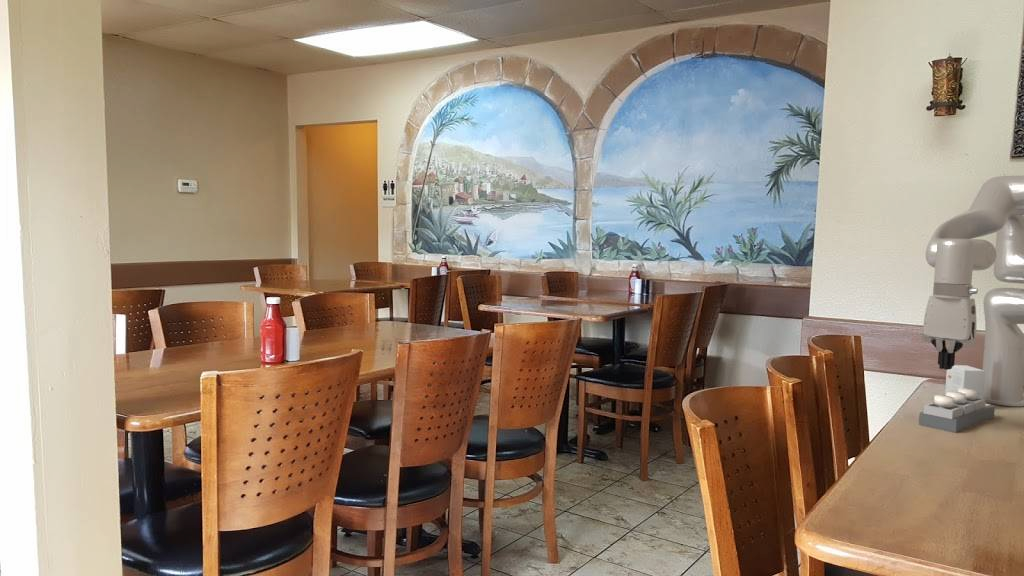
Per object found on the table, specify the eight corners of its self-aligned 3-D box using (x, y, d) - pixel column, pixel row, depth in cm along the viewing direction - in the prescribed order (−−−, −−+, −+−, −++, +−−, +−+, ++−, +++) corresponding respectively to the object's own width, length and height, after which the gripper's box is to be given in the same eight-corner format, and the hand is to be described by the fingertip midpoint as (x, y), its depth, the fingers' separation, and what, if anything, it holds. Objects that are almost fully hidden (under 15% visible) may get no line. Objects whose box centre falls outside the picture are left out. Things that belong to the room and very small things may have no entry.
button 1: (938, 402, 171) (938, 394, 171) (956, 405, 168) (956, 397, 168) (931, 404, 169) (931, 396, 169) (949, 408, 166) (950, 399, 165)
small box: (983, 410, 186) (986, 370, 185) (961, 409, 186) (964, 370, 185) (964, 402, 194) (967, 364, 193) (943, 402, 194) (946, 364, 193)
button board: (958, 410, 185) (960, 391, 184) (994, 417, 179) (995, 398, 178) (918, 424, 170) (920, 404, 170) (955, 432, 164) (957, 411, 163)
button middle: (949, 398, 175) (950, 390, 175) (967, 401, 172) (968, 393, 172) (943, 400, 173) (943, 392, 173) (961, 404, 170) (962, 396, 170)
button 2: (961, 395, 180) (961, 387, 180) (979, 398, 177) (979, 390, 176) (954, 397, 177) (955, 389, 177) (972, 400, 174) (973, 392, 174)
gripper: (994, 293, 162) (987, 372, 164) (924, 288, 174) (918, 362, 175) (981, 294, 158) (975, 375, 159) (911, 289, 170) (905, 364, 171)
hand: (945, 368), depth 167 cm, fingers closed
